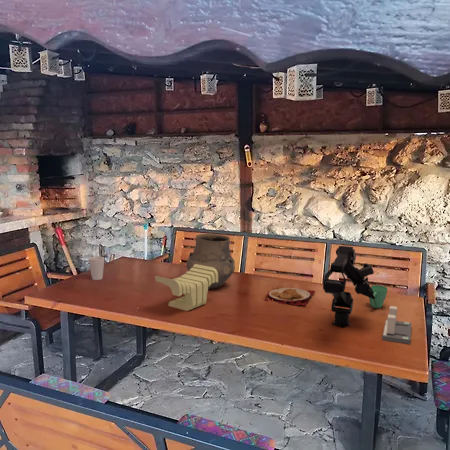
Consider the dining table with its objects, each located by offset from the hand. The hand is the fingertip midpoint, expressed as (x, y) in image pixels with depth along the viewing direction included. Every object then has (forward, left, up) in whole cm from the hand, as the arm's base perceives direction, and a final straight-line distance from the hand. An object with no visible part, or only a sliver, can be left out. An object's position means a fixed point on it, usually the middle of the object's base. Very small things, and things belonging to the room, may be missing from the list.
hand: (373, 296), depth 209 cm
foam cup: (-62, +153, -14) cm, 166 cm away
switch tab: (+4, -8, -11) cm, 14 cm away
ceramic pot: (-18, +95, -14) cm, 98 cm away
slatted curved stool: (-49, +76, -14) cm, 92 cm away
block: (-7, -13, -11) cm, 19 cm away
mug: (+21, +11, -14) cm, 28 cm away
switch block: (-1, -13, -14) cm, 19 cm away
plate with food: (+1, +52, -14) cm, 54 cm away
